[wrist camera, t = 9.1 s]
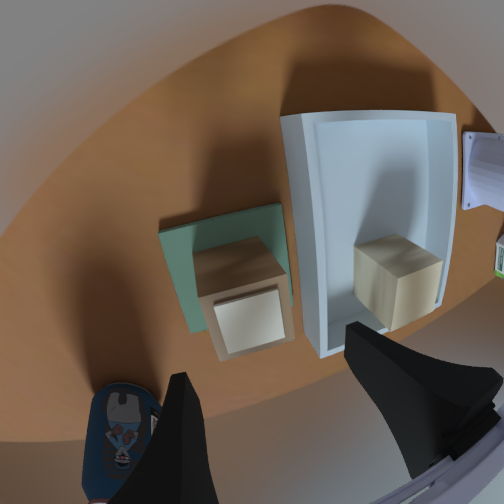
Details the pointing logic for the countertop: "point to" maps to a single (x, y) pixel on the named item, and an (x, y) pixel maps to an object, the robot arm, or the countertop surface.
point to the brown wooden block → (243, 297)
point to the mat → (215, 234)
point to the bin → (365, 202)
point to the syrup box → (500, 257)
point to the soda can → (116, 437)
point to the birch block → (396, 279)
